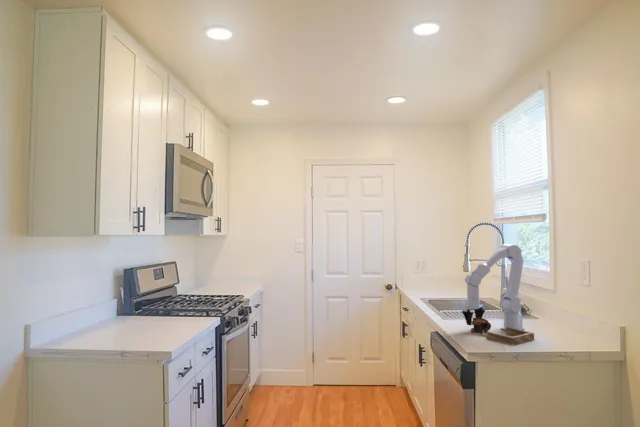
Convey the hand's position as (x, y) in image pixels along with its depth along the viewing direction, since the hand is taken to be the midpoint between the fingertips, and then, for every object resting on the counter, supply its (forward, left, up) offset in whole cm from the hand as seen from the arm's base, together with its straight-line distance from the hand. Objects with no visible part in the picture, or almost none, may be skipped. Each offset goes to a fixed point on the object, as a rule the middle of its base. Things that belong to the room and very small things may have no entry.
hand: (473, 324), depth 211 cm
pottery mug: (+1, +5, -3) cm, 6 cm away
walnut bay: (0, +20, -3) cm, 20 cm away
